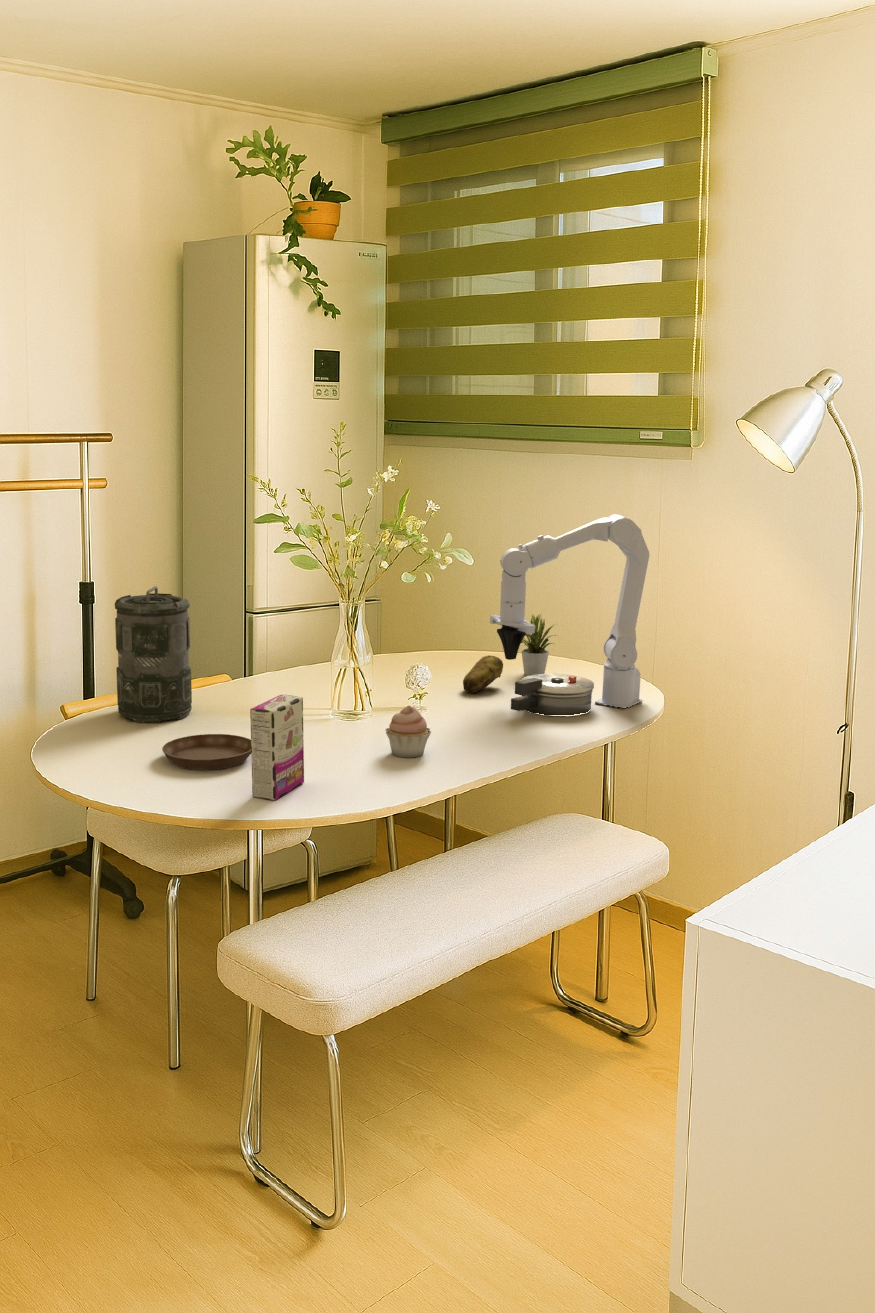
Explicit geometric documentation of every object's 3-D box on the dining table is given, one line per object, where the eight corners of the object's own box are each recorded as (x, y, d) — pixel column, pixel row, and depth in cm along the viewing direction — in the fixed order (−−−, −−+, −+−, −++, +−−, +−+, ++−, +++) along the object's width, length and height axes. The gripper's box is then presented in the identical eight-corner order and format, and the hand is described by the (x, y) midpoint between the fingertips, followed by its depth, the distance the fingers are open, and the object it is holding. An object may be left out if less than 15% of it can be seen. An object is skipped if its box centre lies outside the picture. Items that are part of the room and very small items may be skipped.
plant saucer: (144, 759, 231) (143, 744, 230) (218, 742, 244) (218, 727, 243) (199, 780, 219) (199, 765, 219) (274, 761, 232) (274, 746, 232)
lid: (551, 673, 287) (552, 662, 286) (608, 686, 275) (609, 675, 275) (490, 687, 272) (491, 676, 271) (548, 702, 260) (548, 690, 259)
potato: (449, 689, 291) (450, 657, 290) (491, 683, 299) (492, 651, 297) (470, 696, 285) (471, 663, 283) (512, 690, 292) (513, 658, 290)
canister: (184, 724, 255) (181, 595, 249) (109, 723, 255) (105, 593, 249) (198, 705, 270) (195, 583, 264) (128, 704, 270) (124, 581, 264)
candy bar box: (280, 779, 220) (280, 693, 217) (304, 783, 219) (304, 696, 215) (249, 797, 210) (248, 707, 207) (274, 801, 209) (274, 710, 205)
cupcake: (380, 759, 234) (381, 709, 232) (388, 745, 243) (389, 698, 241) (427, 762, 233) (428, 712, 231) (434, 748, 242) (435, 700, 240)
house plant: (498, 667, 316) (500, 606, 312) (549, 666, 318) (551, 606, 315) (511, 680, 302) (513, 616, 299) (564, 679, 305) (567, 616, 301)
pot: (552, 695, 288) (553, 675, 287) (605, 709, 276) (607, 688, 275) (488, 710, 272) (488, 689, 271) (541, 725, 261) (542, 703, 260)
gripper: (480, 597, 279) (478, 654, 282) (518, 607, 267) (515, 666, 270) (504, 595, 283) (502, 651, 286) (543, 605, 271) (540, 663, 274)
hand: (510, 658), depth 278 cm, fingers closed
